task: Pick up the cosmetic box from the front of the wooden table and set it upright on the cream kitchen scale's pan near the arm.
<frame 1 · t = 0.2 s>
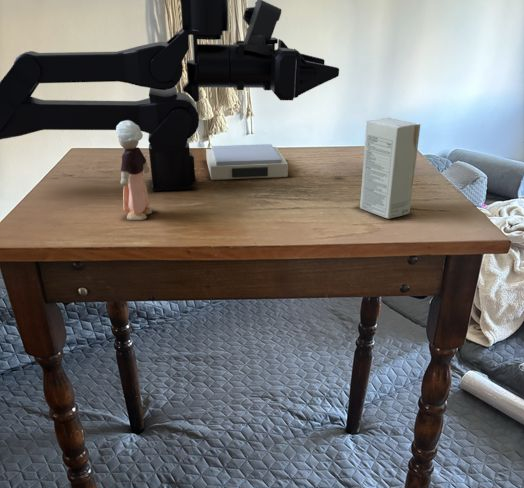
hand: (331, 67, 85), 17 cm above the table, tool horizontal, fingers open, 9 cm apart
cosmetic box: (383, 212, 81), on the table
grandmother figurine: (138, 217, 79), on the table
scale: (245, 168, 99), on the table
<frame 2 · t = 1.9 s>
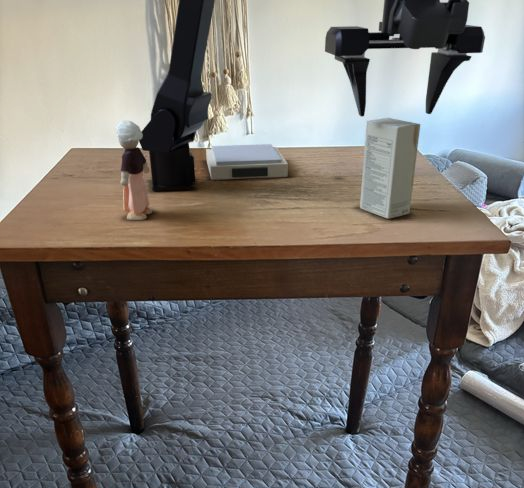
hand: (395, 114, 74), 13 cm above the table, tool pointing down, fingers open, 9 cm apart
nothing on the table moved.
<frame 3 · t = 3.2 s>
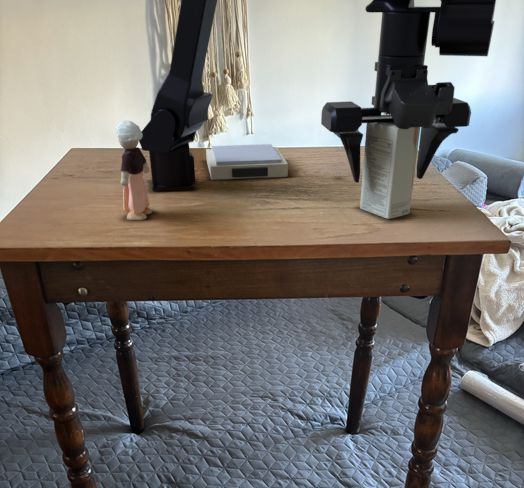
hand: (388, 180, 78), 5 cm above the table, tool pointing down
cosmetic box: (383, 212, 81), on the table, touching gripper
everything else where it was.
when the fingers open (8 cm above the table, at t = 8.9 s): cosmetic box stays where it is, resting on scale.
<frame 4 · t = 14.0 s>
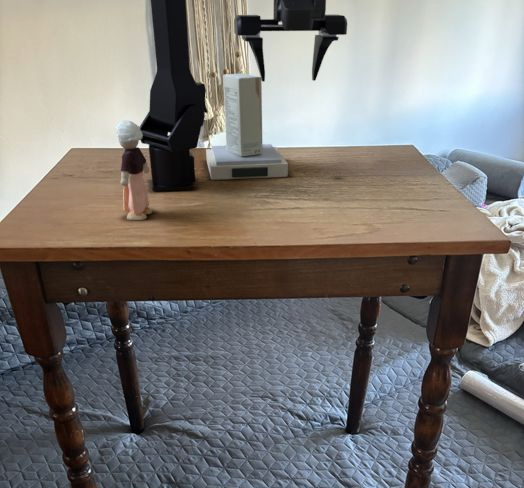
hand: (288, 80, 100), 13 cm above the table, tool pointing down, fingers open, 9 cm apart
cosmetic box: (243, 153, 98), point 3 cm above the table, touching scale
everything else where it was.
at the end: cosmetic box inside the target area on the scale (0.2 cm from its centre), point 2.6 cm above the scale's base; cosmetic box tilted 0°; the gripper is holding nothing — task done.
